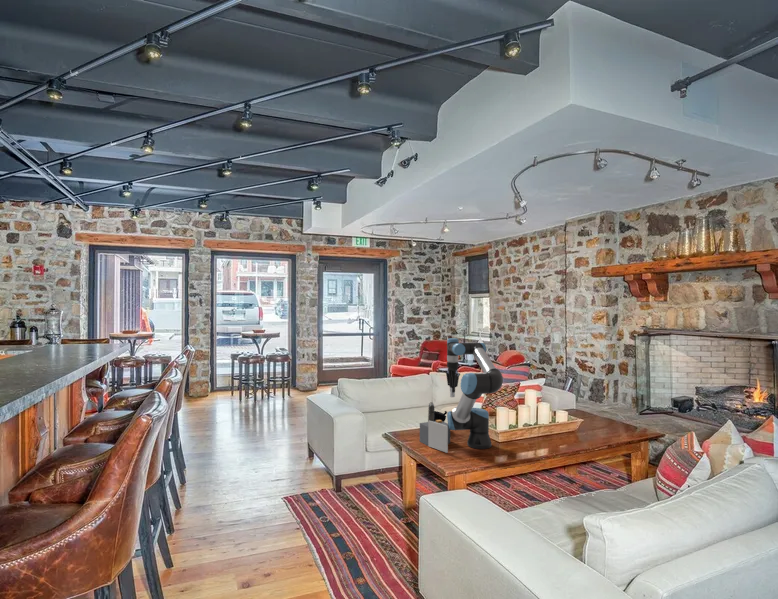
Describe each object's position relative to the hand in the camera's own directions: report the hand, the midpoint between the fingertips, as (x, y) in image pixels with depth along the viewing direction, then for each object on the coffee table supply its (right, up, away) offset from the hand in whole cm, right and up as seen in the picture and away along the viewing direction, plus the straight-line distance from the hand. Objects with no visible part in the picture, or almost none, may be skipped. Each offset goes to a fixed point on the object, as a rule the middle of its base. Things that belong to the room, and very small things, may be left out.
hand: (452, 396), depth 310 cm
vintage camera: (-7, -29, +18) cm, 35 cm away
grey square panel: (-12, -28, -22) cm, 38 cm away
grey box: (-12, -28, -7) cm, 31 cm away
